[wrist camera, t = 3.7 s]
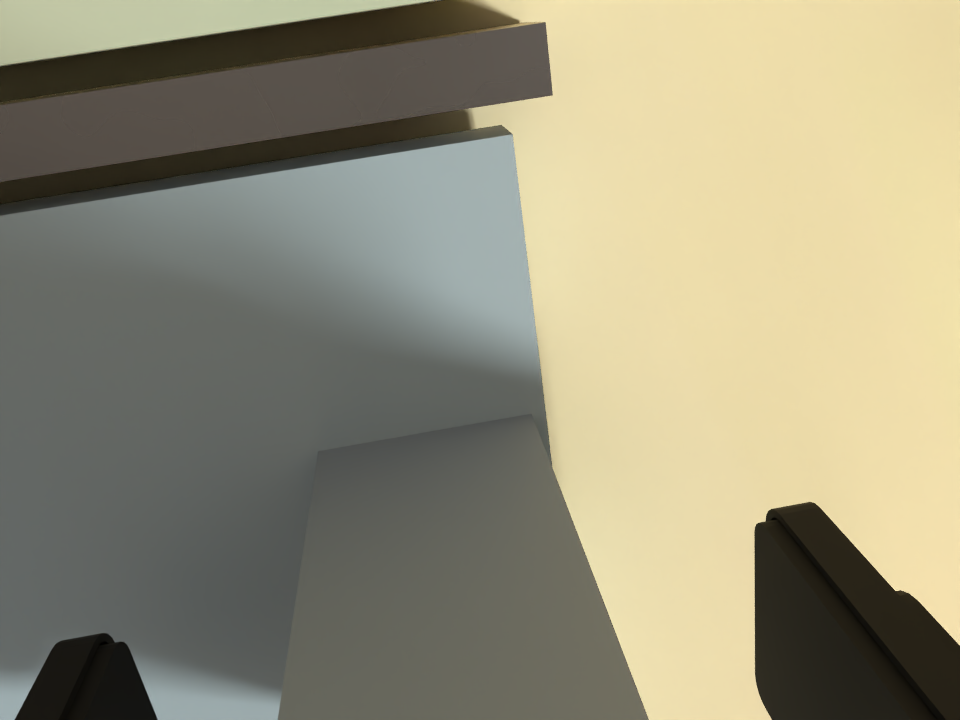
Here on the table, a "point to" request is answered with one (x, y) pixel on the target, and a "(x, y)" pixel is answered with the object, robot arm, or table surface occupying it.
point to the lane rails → (272, 100)
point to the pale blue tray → (294, 445)
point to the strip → (148, 22)
